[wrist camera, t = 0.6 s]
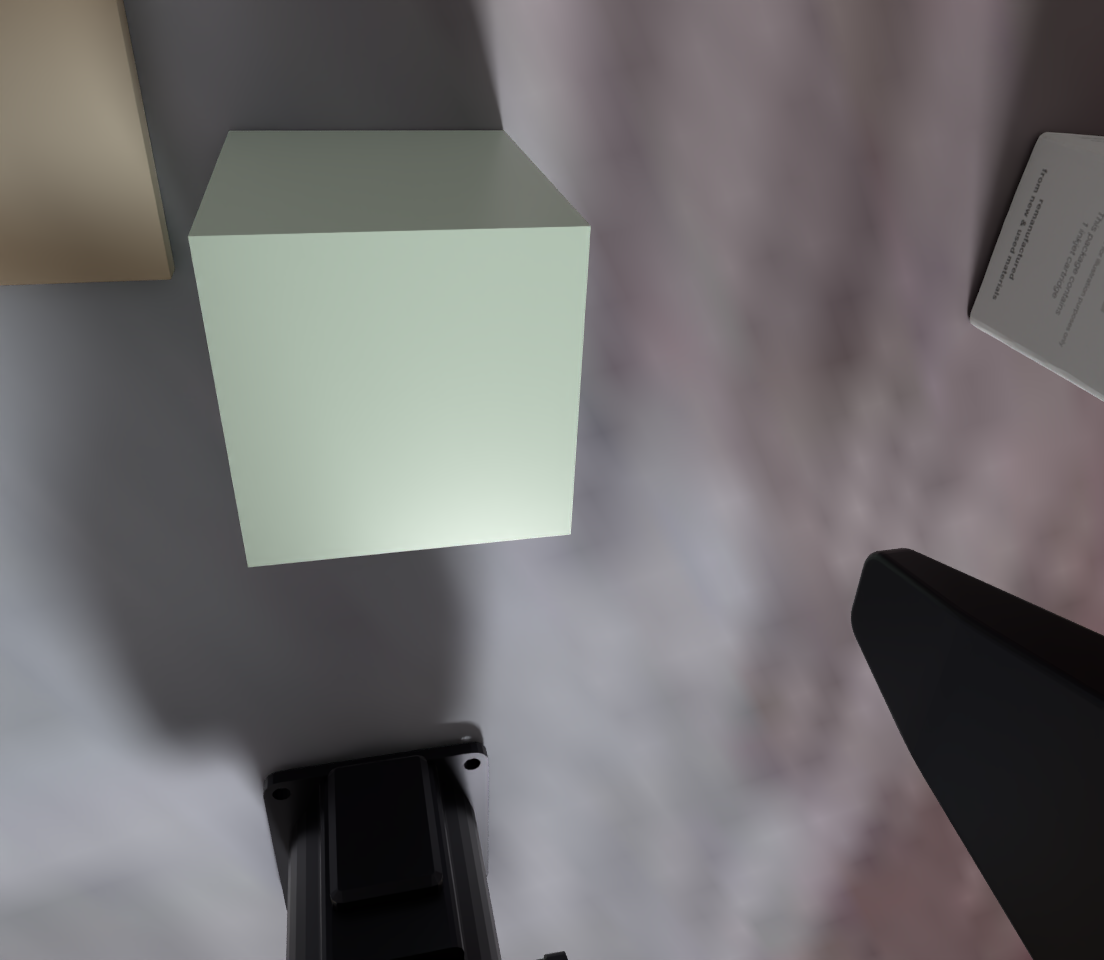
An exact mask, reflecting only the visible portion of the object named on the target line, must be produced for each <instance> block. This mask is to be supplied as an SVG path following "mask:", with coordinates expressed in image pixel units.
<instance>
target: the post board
mask: <svg viewBox="0 0 1104 960" xmlns="http://www.w3.org/2000/svg"><path fill="white" fill-rule="evenodd" d="M174 271H175V267H174V261H173V256H172V251H171V246H170V241H169V235H168V230H167V225H166V220H165V215H164V210H163V204H162V199H161V194H160V189H159V184H158V178H157V173H156V168H155V163H154V158H153V153H152V147H151V142H150V137H149V132H148V127H147V122H146V116H145V111H144V106H143V101H142V96H141V90H140V85H139V80H138V75H137V70H136V65H135V59H134V54H133V49H132V44H131V39H130V33H129V28H128V23H127V18H126V13H125V8H124V2H123V0H0V285H27V284H56V283H84V282H113V281H141V280H170V279H171V278H172V276H173V273H174Z"/></svg>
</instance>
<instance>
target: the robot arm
mask: <svg viewBox="0 0 1104 960" xmlns="http://www.w3.org/2000/svg"><path fill="white" fill-rule="evenodd" d="M851 624H852V629H853V632H854V635H855V637H856V640H857V642H858V644H859V646H860V648H861V650H862V652H863V655H864V657H865V659H866V661H867V663H868V665H869V667H870V669H871V672H872V674H873V676H874V678H875V680H876V682H877V684H878V687H879V689H880V691H881V693H882V695H883V697H884V699H885V702H886V704H887V706H888V708H889V710H890V712H891V714H892V716H893V719H894V721H895V723H896V725H897V727H898V729H899V731H900V734H901V736H902V738H903V740H904V742H905V744H906V746H907V748H908V749H909V751H910V753H911V755H912V757H913V759H914V761H915V763H916V764H917V766H918V768H919V770H920V771H921V773H922V775H923V777H924V778H925V780H926V782H927V783H928V785H929V787H930V788H931V790H932V792H933V793H934V795H935V797H936V798H937V800H938V802H939V803H940V805H941V807H942V808H943V810H944V812H945V813H946V815H947V817H948V819H949V820H950V822H951V824H952V825H953V827H954V829H955V830H956V832H957V834H958V835H959V837H960V839H961V840H962V842H963V844H964V845H965V847H966V849H967V850H968V852H969V854H970V855H971V857H972V859H973V860H974V862H975V864H976V865H977V867H978V869H979V870H980V872H981V874H982V875H983V877H984V879H985V880H986V882H987V884H988V885H989V887H990V889H991V890H992V892H993V894H994V895H995V897H996V899H997V900H998V902H999V904H1000V905H1001V907H1002V909H1003V910H1004V912H1005V914H1006V915H1007V917H1008V919H1009V920H1010V922H1011V924H1012V925H1013V927H1014V929H1015V930H1016V932H1017V934H1018V935H1019V937H1020V939H1021V940H1022V942H1023V944H1024V945H1025V947H1026V949H1027V950H1028V952H1029V954H1030V955H1031V957H1032V959H1033V960H1104V636H1103V635H1101V634H1099V633H1097V632H1094V631H1092V630H1090V629H1088V628H1085V627H1083V626H1081V625H1079V624H1076V623H1074V622H1072V621H1070V620H1068V619H1065V618H1063V617H1061V616H1059V615H1056V614H1054V613H1052V612H1050V611H1048V610H1045V609H1043V608H1041V607H1039V606H1036V605H1034V604H1032V603H1030V602H1027V601H1025V600H1023V599H1021V598H1019V597H1016V596H1014V595H1012V594H1010V593H1007V592H1005V591H1003V590H1001V589H998V588H996V587H994V586H992V585H990V584H987V583H985V582H983V581H981V580H978V579H976V578H974V577H972V576H970V575H967V574H965V573H963V572H961V571H958V570H956V569H954V568H952V567H949V566H947V565H945V564H943V563H941V562H938V561H936V560H934V559H932V558H929V557H927V556H925V555H923V554H921V553H918V552H916V551H914V550H911V549H907V548H899V549H891V550H883V551H876V552H874V553H872V554H870V555H869V556H868V558H867V559H866V560H865V563H864V566H863V570H862V573H861V577H860V581H859V584H858V588H857V592H856V595H855V599H854V603H853V606H852V611H851ZM472 758H473V759H472ZM469 759H470V760H469ZM279 788H284V789H279ZM264 802H265V807H266V812H267V816H268V821H269V826H270V831H271V836H272V841H273V846H274V850H275V855H276V860H277V865H278V870H279V875H280V880H281V884H282V889H283V894H284V899H285V904H286V909H287V948H286V960H501V955H500V949H499V944H498V938H497V933H496V927H495V922H494V916H493V911H492V905H491V900H490V894H489V889H488V883H487V878H486V877H487V875H488V807H489V761H488V756H487V751H486V748H485V746H483V745H482V744H480V743H477V742H470V743H463V744H457V745H450V746H444V747H437V748H430V749H424V750H417V751H411V752H404V753H397V754H391V755H384V756H377V757H371V758H364V759H358V760H351V761H344V762H338V763H331V764H324V765H318V766H311V767H305V768H298V769H291V770H285V771H279V772H276V773H273V774H271V775H269V776H268V777H267V778H266V780H265V782H264ZM538 960H568V959H567V956H566V953H565V951H562V952H556V953H550V954H545V955H544V959H538Z"/></svg>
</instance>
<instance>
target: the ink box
mask: <svg viewBox="0 0 1104 960" xmlns="http://www.w3.org/2000/svg"><path fill="white" fill-rule="evenodd" d="M970 323H971V324H972V325H974V326H975V327H977V328H978V329H980V330H982V331H983V332H985V333H987V334H989V335H991V336H992V337H994V338H996V339H998V340H999V341H1001V342H1003V343H1004V344H1006V345H1008V346H1009V347H1011V348H1013V349H1015V350H1016V351H1018V352H1020V353H1022V354H1023V355H1025V356H1027V357H1029V358H1030V359H1032V360H1034V361H1035V362H1037V363H1039V364H1041V365H1042V366H1044V367H1046V368H1048V369H1049V370H1051V371H1053V372H1055V373H1056V374H1058V375H1060V376H1061V377H1063V378H1065V379H1066V380H1068V381H1070V382H1072V383H1073V384H1075V385H1077V386H1078V387H1080V388H1082V389H1084V390H1085V391H1087V392H1089V393H1090V394H1092V395H1094V396H1095V397H1097V398H1099V399H1101V400H1102V401H1104V136H1093V135H1081V134H1068V133H1054V132H1045V133H1043V134H1041V135H1040V136H1039V138H1038V140H1037V142H1036V144H1035V146H1034V149H1033V151H1032V154H1031V156H1030V159H1029V161H1028V164H1027V166H1026V168H1025V171H1024V173H1023V176H1022V178H1021V180H1020V183H1019V185H1018V188H1017V190H1016V193H1015V195H1014V198H1013V201H1012V203H1011V206H1010V209H1009V212H1008V214H1007V216H1006V219H1005V221H1004V224H1003V227H1002V230H1001V232H1000V235H999V238H998V240H997V243H996V246H995V248H994V251H993V254H992V257H991V259H990V262H989V265H988V268H987V271H986V274H985V276H984V279H983V282H982V285H981V287H980V290H979V293H978V295H977V298H976V301H975V303H974V306H973V308H972V311H971V315H970Z"/></svg>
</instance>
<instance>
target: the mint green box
mask: <svg viewBox="0 0 1104 960" xmlns="http://www.w3.org/2000/svg"><path fill="white" fill-rule="evenodd" d="M590 228H591V226H590V225H589V224H588V223H587V222H586V221H585V219H584V218H583V217H582V216H581V215H580V214H579V213H578V212H577V211H576V209H575V208H574V207H573V206H572V205H571V204H570V203H569V202H568V201H567V200H566V198H565V197H564V196H563V195H562V194H561V193H560V192H559V191H558V190H557V189H556V187H555V186H554V185H553V184H552V183H551V182H550V181H549V180H548V179H547V178H546V176H545V175H544V174H543V173H542V172H541V171H540V170H539V169H538V168H537V166H536V165H535V164H534V163H533V162H532V161H531V160H530V159H529V158H528V157H527V155H526V154H525V153H524V152H523V151H522V150H521V149H520V148H519V147H518V146H517V144H516V143H515V142H514V141H513V140H512V139H511V138H510V137H509V136H508V134H507V133H506V132H505V131H504V130H342V131H228V134H227V137H226V139H225V142H224V144H223V147H222V150H221V152H220V155H219V157H218V160H217V163H216V165H215V168H214V170H213V173H212V175H211V178H210V181H209V183H208V186H207V188H206V191H205V194H204V196H203V199H202V201H201V204H200V206H199V209H198V212H197V214H196V217H195V219H194V222H193V225H192V227H191V230H190V232H189V235H188V239H189V245H190V250H191V256H192V262H193V267H194V273H195V278H196V284H197V289H198V295H199V300H200V306H201V311H202V317H203V322H204V328H205V333H206V339H207V344H208V350H209V355H210V361H211V366H212V372H213V377H214V383H215V388H216V394H217V399H218V405H219V410H220V416H221V421H222V427H223V433H224V438H225V444H226V449H227V455H228V460H229V466H230V471H231V477H232V482H233V488H234V493H235V499H236V504H237V510H238V515H239V521H240V526H241V532H242V537H243V543H244V548H245V554H246V559H247V565H248V567H256V566H266V565H276V564H286V563H295V562H305V561H315V560H325V559H334V558H344V557H354V556H364V555H373V554H383V553H393V552H403V551H412V550H422V549H432V548H442V547H451V546H461V545H471V544H481V543H490V542H500V541H510V540H520V539H529V538H539V537H549V536H559V535H568V534H571V520H572V505H573V490H574V474H575V459H576V443H577V428H578V413H579V397H580V382H581V367H582V351H583V336H584V321H585V305H586V290H587V274H588V259H589V244H590Z"/></svg>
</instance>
